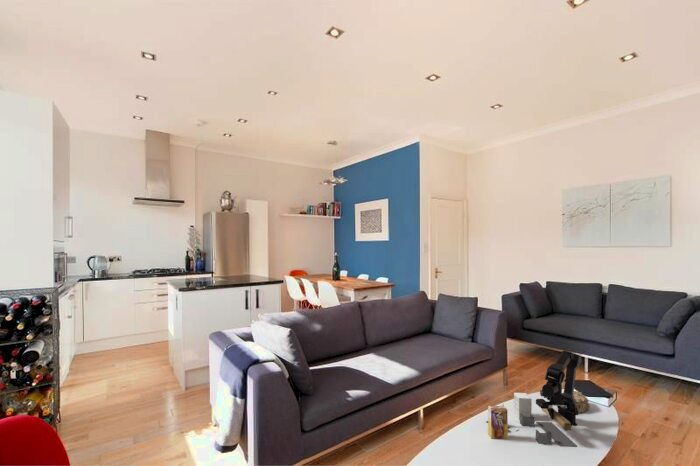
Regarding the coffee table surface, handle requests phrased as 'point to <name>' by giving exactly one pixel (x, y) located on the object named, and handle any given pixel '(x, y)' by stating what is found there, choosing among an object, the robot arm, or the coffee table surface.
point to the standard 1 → (527, 420)
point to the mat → (557, 434)
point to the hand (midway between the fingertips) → (555, 419)
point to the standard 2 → (544, 437)
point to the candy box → (497, 422)
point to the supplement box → (522, 405)
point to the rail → (559, 420)
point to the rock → (581, 401)
